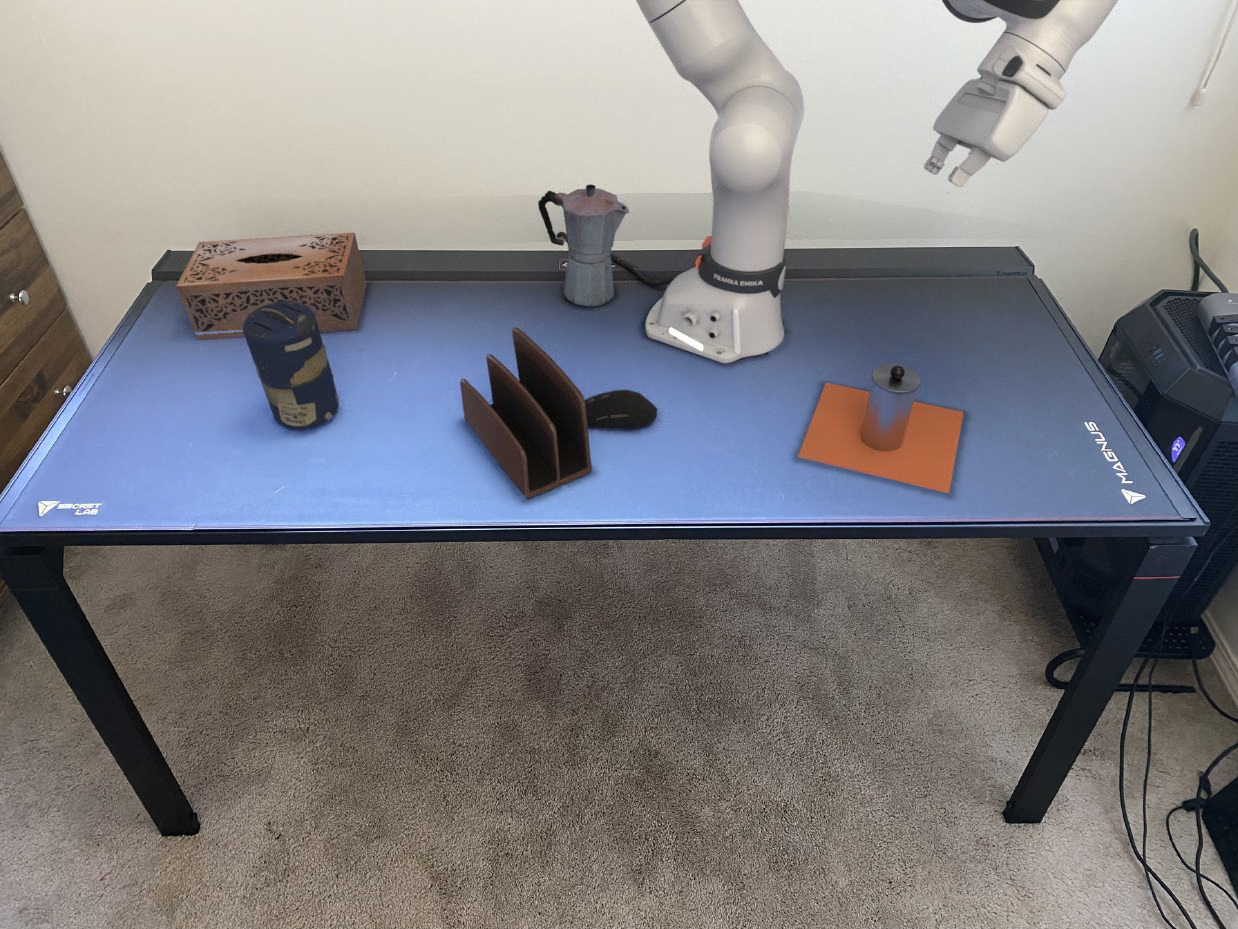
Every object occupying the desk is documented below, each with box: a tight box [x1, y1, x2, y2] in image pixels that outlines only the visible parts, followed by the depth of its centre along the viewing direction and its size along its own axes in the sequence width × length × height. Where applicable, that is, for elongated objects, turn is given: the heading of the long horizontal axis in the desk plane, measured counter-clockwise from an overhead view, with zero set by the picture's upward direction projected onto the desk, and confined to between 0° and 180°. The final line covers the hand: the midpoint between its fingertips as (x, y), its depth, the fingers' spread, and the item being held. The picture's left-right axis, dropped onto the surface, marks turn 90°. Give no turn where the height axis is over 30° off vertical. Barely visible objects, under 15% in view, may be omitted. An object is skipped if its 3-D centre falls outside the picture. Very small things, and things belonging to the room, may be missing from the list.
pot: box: [861, 363, 922, 452], centre depth 120 cm, size 6×6×12 cm
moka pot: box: [537, 183, 631, 307], centre depth 148 cm, size 10×15×20 cm, turn 78°
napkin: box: [797, 382, 964, 494], centre depth 125 cm, size 20×18×1 cm
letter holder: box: [459, 327, 593, 500], centre depth 120 cm, size 10×20×14 cm, turn 32°
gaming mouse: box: [584, 389, 658, 431], centre depth 128 cm, size 6×15×4 cm, turn 88°
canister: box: [243, 301, 340, 431], centre depth 125 cm, size 10×10×18 cm
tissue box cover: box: [175, 232, 368, 341], centre depth 149 cm, size 26×14×10 cm, turn 96°
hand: (940, 177), depth 113 cm, fingers open, 8 cm apart
